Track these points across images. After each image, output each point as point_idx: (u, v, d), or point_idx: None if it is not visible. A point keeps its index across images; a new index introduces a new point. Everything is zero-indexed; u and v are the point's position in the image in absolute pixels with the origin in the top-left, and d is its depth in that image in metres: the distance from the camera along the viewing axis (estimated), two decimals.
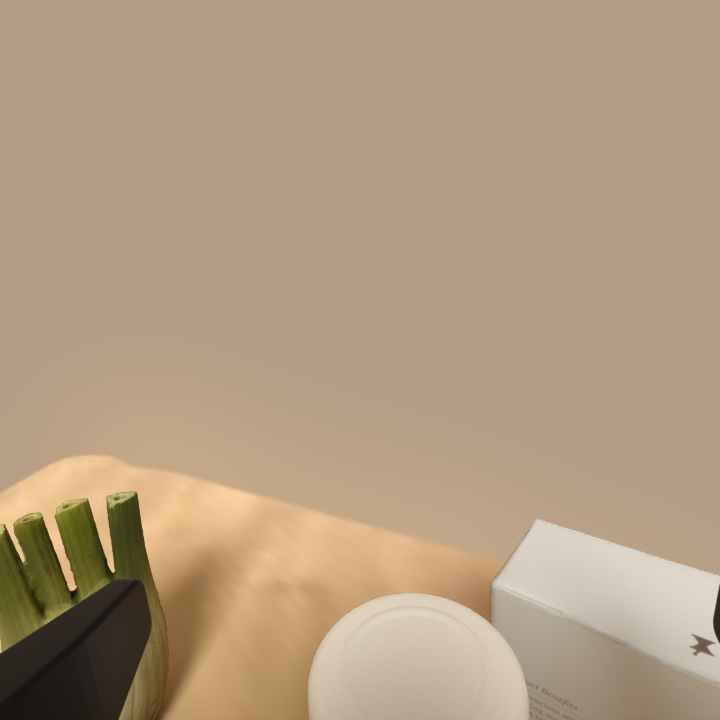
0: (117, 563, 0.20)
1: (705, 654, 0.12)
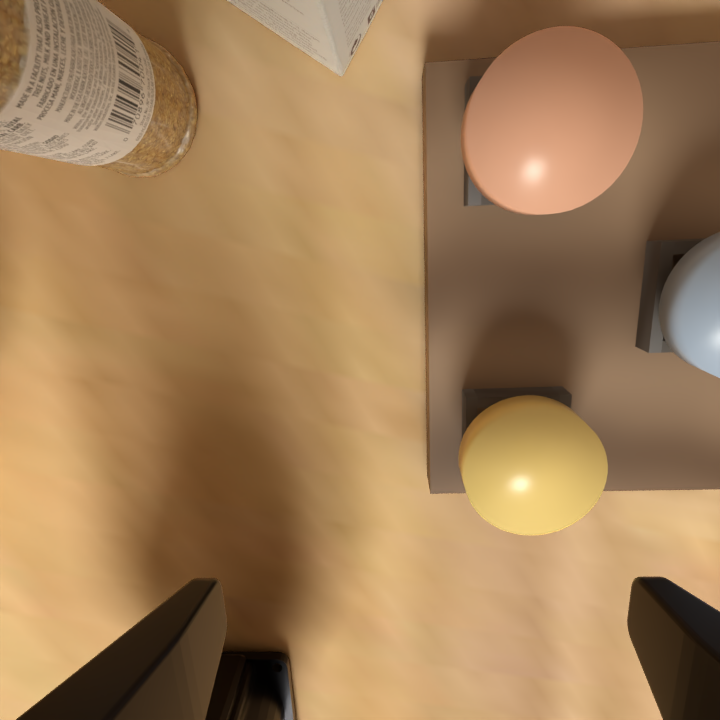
0: None
1: None
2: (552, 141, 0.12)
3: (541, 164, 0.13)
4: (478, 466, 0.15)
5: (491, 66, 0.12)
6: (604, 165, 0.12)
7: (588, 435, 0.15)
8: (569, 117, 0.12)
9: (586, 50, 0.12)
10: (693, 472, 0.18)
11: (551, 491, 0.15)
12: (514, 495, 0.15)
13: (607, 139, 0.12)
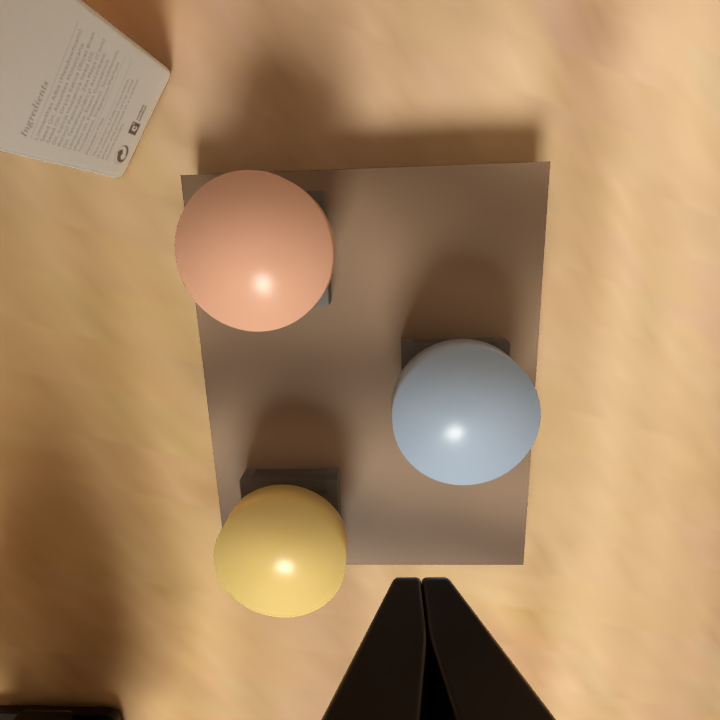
0: None
1: None
2: (253, 268, 0.13)
3: (246, 288, 0.14)
4: (226, 554, 0.16)
5: (189, 202, 0.13)
6: (303, 290, 0.14)
7: (322, 528, 0.15)
8: (266, 248, 0.13)
9: (272, 191, 0.13)
10: (468, 549, 0.19)
11: (296, 577, 0.16)
12: (263, 580, 0.16)
13: (302, 268, 0.13)
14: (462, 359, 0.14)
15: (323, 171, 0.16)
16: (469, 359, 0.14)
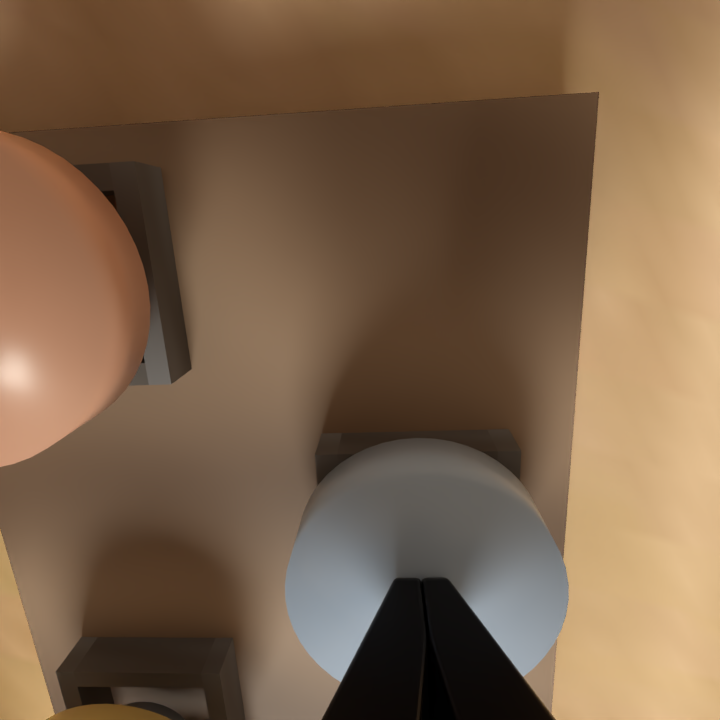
0: None
1: None
2: None
3: None
4: None
5: None
6: (50, 385, 0.06)
7: None
8: None
9: None
10: None
11: None
12: None
13: (40, 337, 0.06)
14: (412, 495, 0.07)
15: (150, 125, 0.08)
16: (426, 495, 0.07)
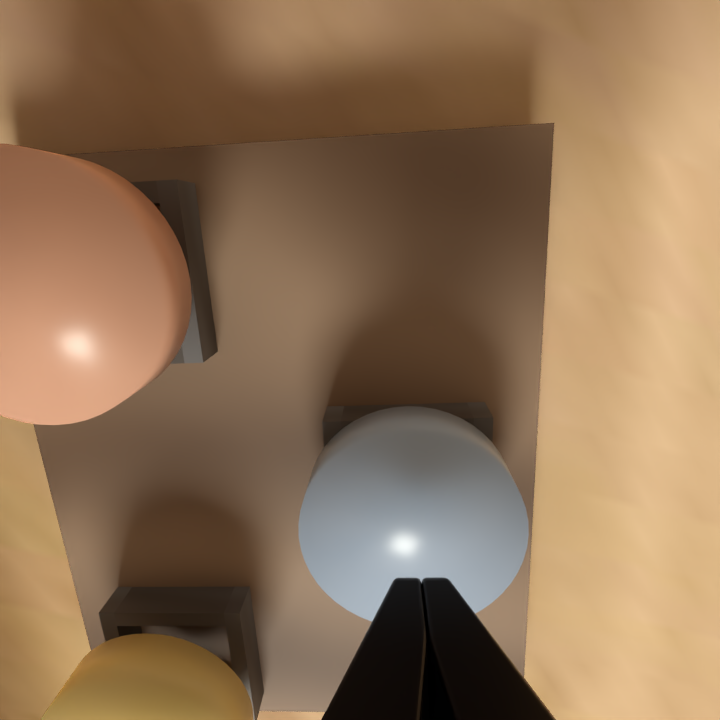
0: None
1: None
2: (28, 320, 0.08)
3: (21, 353, 0.08)
4: None
5: None
6: (118, 357, 0.08)
7: (197, 717, 0.10)
8: (44, 285, 0.07)
9: (41, 182, 0.07)
10: None
11: None
12: None
13: (112, 319, 0.08)
14: (401, 448, 0.09)
15: (187, 149, 0.10)
16: (412, 448, 0.09)
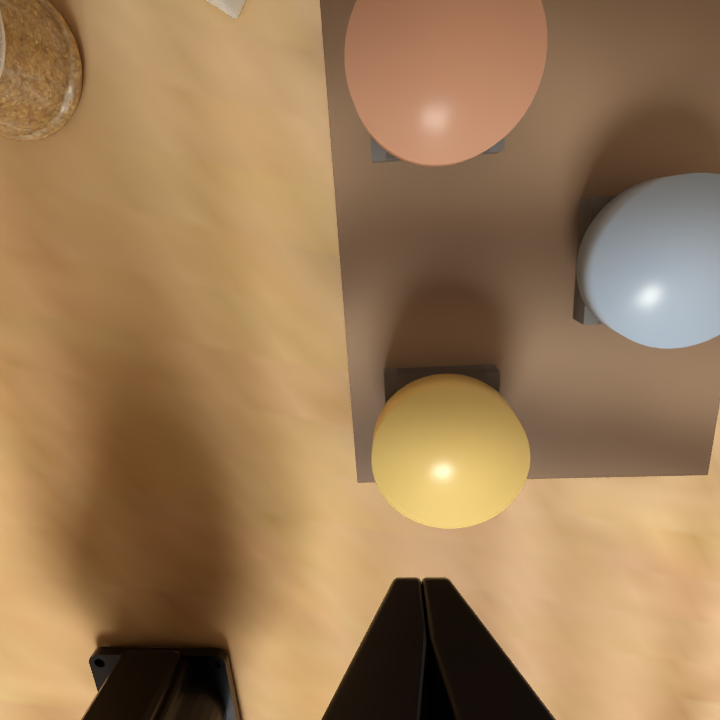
0: None
1: None
2: (443, 75, 0.11)
3: (432, 103, 0.11)
4: (386, 453, 0.13)
5: None
6: (505, 102, 0.11)
7: (506, 417, 0.13)
8: (461, 45, 0.10)
9: None
10: (643, 457, 0.16)
11: (469, 480, 0.14)
12: (428, 484, 0.14)
13: (507, 71, 0.10)
14: (686, 188, 0.12)
15: None
16: (695, 188, 0.12)
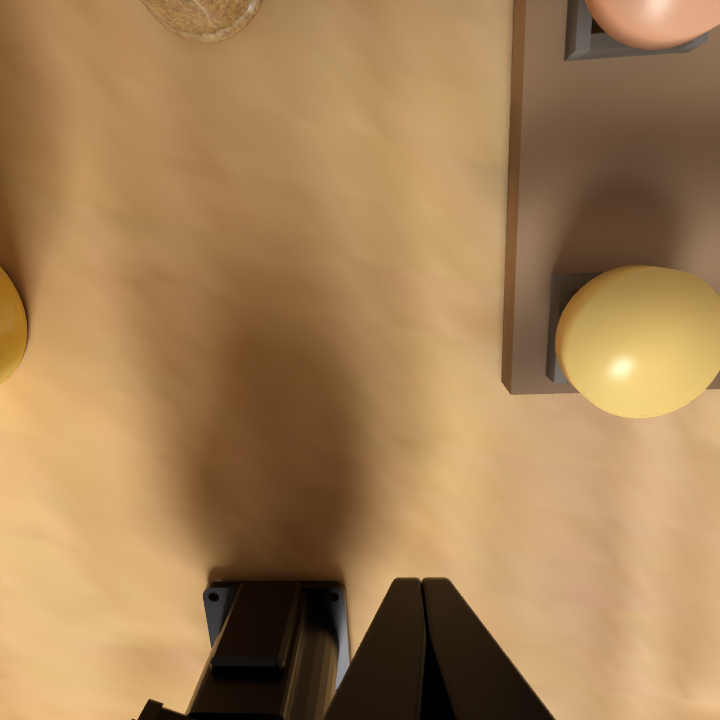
0: None
1: None
2: None
3: None
4: (586, 337, 0.14)
5: None
6: None
7: (710, 299, 0.13)
8: None
9: None
10: None
11: (665, 366, 0.14)
12: (623, 371, 0.14)
13: None
14: None
15: None
16: None
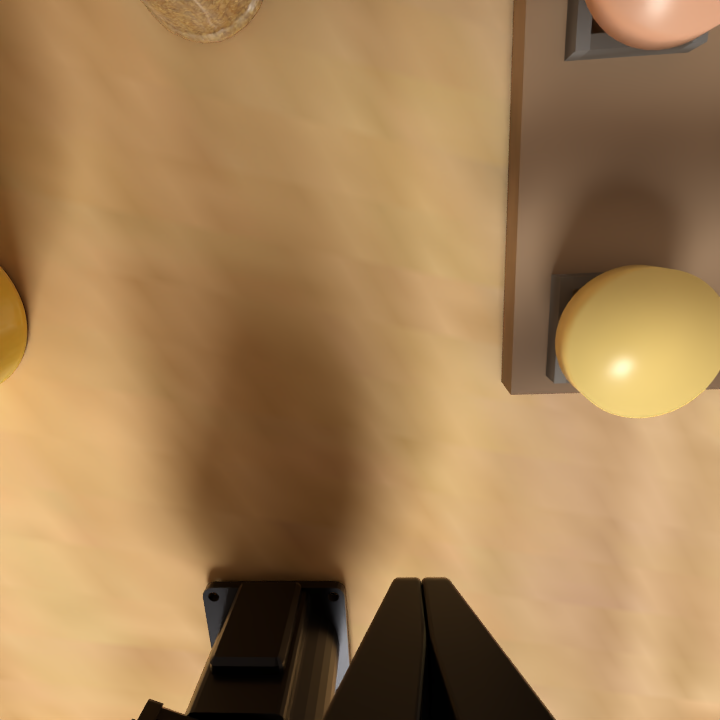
0: None
1: None
2: None
3: None
4: (586, 337, 0.14)
5: None
6: None
7: (710, 299, 0.13)
8: None
9: None
10: None
11: (665, 366, 0.14)
12: (623, 371, 0.14)
13: None
14: None
15: None
16: None
